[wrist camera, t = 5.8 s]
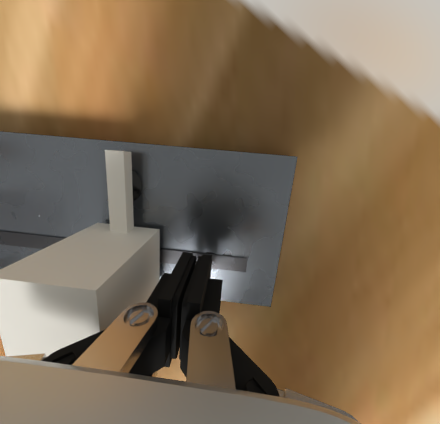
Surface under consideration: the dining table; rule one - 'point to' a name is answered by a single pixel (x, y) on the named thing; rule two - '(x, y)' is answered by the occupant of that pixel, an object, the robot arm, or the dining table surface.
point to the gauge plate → (152, 203)
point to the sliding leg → (81, 276)
